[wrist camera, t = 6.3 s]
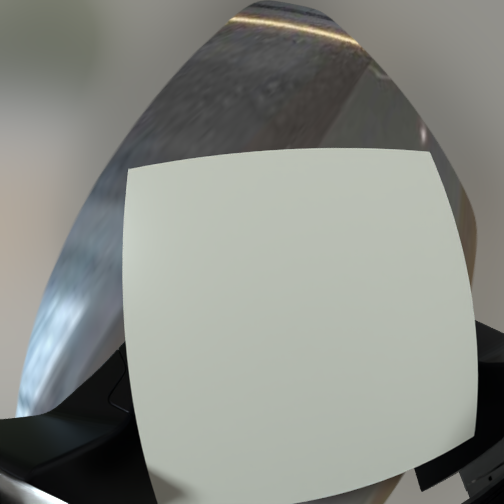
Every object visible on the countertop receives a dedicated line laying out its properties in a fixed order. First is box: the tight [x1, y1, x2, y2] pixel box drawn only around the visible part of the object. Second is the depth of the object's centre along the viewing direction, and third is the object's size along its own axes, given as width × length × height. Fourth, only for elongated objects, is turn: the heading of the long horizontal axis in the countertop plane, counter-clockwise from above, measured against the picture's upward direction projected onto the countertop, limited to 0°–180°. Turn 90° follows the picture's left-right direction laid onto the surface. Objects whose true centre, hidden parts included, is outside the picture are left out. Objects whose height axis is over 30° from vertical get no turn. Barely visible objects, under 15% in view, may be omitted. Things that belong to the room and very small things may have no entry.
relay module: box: [123, 148, 478, 504], centre depth 9 cm, size 5×5×12 cm
